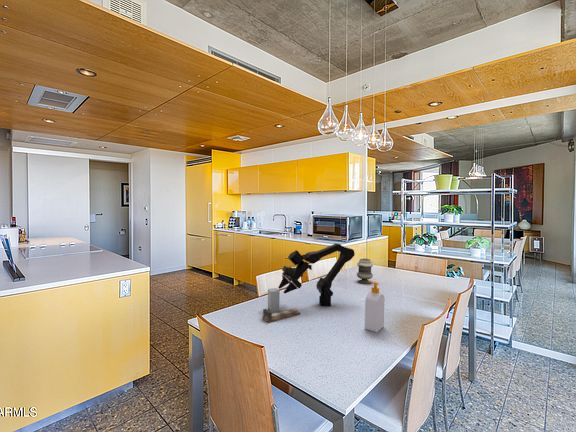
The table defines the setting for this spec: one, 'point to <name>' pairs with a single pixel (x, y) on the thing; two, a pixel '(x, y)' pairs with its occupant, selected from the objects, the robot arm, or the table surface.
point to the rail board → (279, 314)
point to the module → (273, 300)
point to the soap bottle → (374, 309)
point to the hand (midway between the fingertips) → (281, 290)
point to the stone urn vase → (364, 270)
